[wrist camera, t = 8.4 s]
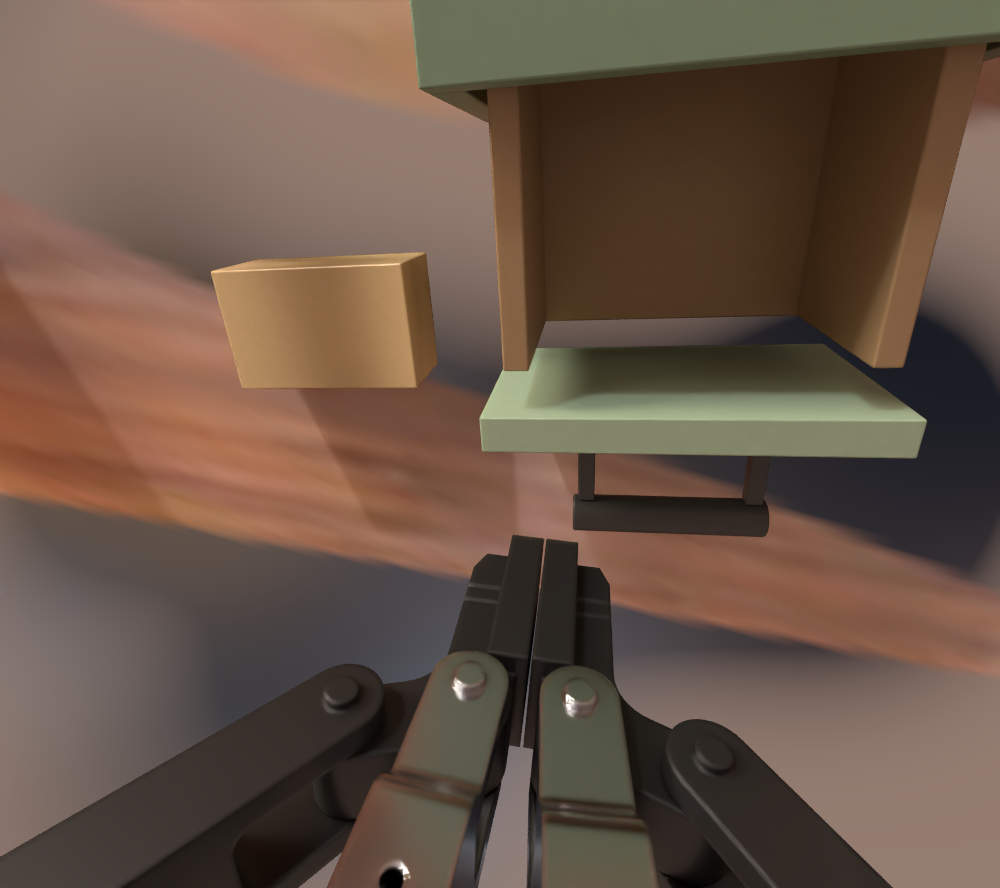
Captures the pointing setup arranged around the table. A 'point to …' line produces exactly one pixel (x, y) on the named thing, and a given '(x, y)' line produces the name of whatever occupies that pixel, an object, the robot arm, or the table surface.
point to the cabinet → (666, 37)
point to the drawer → (719, 263)
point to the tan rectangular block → (329, 321)
